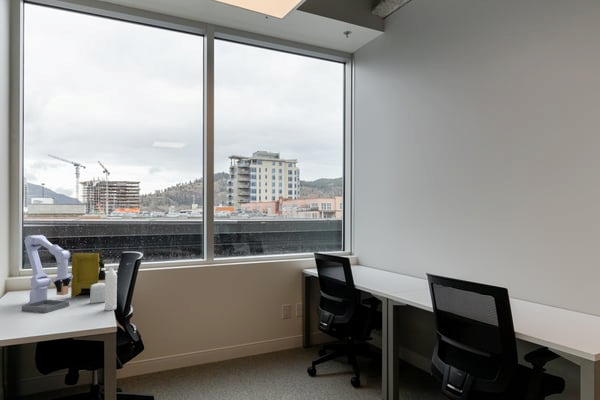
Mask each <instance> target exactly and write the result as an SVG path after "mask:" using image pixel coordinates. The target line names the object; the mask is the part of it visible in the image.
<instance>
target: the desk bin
mask: <svg viewBox="0 0 600 400" xmlns="http://www.w3.org/2000/svg"><path fill="white" fill-rule="evenodd" d="M68 307H70V301H69V300H58V299H57V300H56V299H47V300H42V301H38V302H34V303H27V304H23V305H21V312H31V313H42V314H43V313H44V314H47V313H51V312H55V311H57V310H60V309H61V310H62V309H65V308H68Z"/></svg>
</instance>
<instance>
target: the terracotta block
mask: <svg viewBox="0 0 600 400" xmlns="http://www.w3.org/2000/svg"><path fill="white" fill-rule="evenodd" d="M68 294H69V285H68V286H63V285H62V287H61V292H57V291H56V294H55V295H57V296H66V295H68Z"/></svg>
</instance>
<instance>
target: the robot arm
mask: <svg viewBox="0 0 600 400" xmlns="http://www.w3.org/2000/svg"><path fill="white" fill-rule="evenodd" d="M23 242H24V245H25V249H26V252H27V257H28V259H29V263H30V266H31V270H32V274H33V276H32V277H31V278H30V287H31V288H32V289H31V290H30V291H29V301H28V302H27V304H31V303H34V302H38V301H42V300H48V290H49V289H48V288H49V286H50V285H51V284H52V283H53V284H54V285H55V289H56V292H61V287H62V286H68V287H69V285H70V283H71V280H72V278H73V275H69V273H68V272H69V259H70V258H71V252H70V251H69V249H67V250H65V249H64V248H62V247H60V246H59V245H58V244H52V243H51V242H50V241H49V240H48V239H47V237H46V236H45V235H43V234H36V235H27V236H26V237H25V239H24V240H23ZM42 247H44V248H46V249H48V252H49V253H50V254H51V255H53V256H54V257H55V259H56V264H57V266H56V267H57V271H56V274H57V275H56V277H53V278H50V277H49V275H48V274H47V273H45V272H44V268H43V266H42V263H41V259H40V256H39V251H38V250H39V249H41V248H42Z"/></svg>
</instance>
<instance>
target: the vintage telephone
mask: <svg viewBox="0 0 600 400" xmlns="http://www.w3.org/2000/svg"><path fill="white" fill-rule="evenodd" d="M104 257H106V258H104ZM106 259H107V261H108V260H109V259H108V257H107V256H106V255H103V257H102V258H100V254H99V253H72V255H71V274H70V273H68V275H73V278H71V281H70V283H71V286H70V289H71V290H70V298H73V297H74V296H75V297H78V296H80V295H83V294H90V289H91V285H93V284H97V283H100V281H101V282H102V281H105V276H106V274H107V273H106V270H101V269H102V268H105V263H106ZM108 262H110V261H108ZM79 294H80V295H79Z"/></svg>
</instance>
